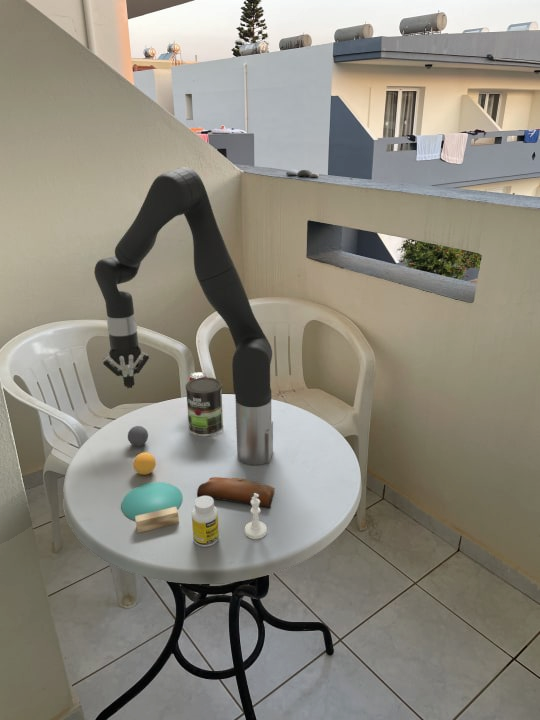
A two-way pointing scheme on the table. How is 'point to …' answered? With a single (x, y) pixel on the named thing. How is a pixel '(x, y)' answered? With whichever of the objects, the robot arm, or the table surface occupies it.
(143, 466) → the object ball
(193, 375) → the beverage can
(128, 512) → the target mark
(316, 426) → the table surface
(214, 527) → the supplement bottle
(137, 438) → the gray ball
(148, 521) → the strip
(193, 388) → the coffee can
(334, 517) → the table surface
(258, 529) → the chess piece
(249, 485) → the sunglasses case
